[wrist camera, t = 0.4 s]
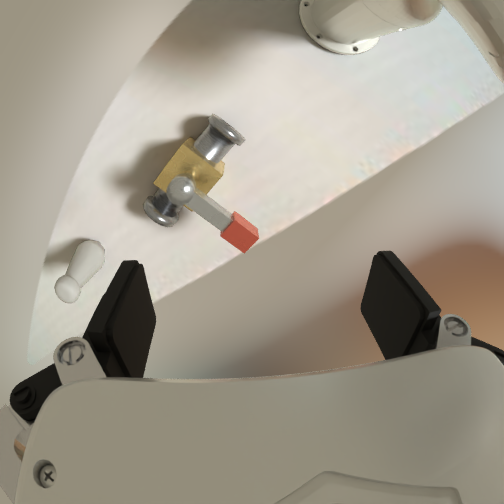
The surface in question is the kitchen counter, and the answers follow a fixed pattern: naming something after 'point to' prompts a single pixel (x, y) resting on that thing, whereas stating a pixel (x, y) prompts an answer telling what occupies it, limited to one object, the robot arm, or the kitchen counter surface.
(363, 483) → the robot arm
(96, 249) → the salt shaker
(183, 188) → the valve lever
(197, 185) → the valve pipe
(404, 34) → the kitchen counter surface
